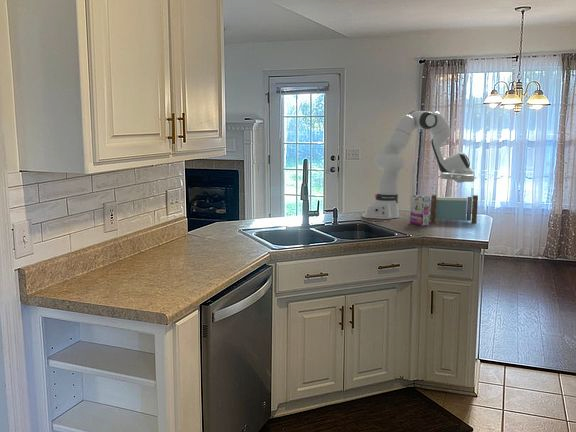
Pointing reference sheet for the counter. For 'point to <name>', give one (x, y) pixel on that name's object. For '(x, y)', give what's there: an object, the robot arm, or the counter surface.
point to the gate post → (474, 209)
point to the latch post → (433, 209)
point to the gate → (452, 208)
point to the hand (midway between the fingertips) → (454, 178)
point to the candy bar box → (420, 210)
